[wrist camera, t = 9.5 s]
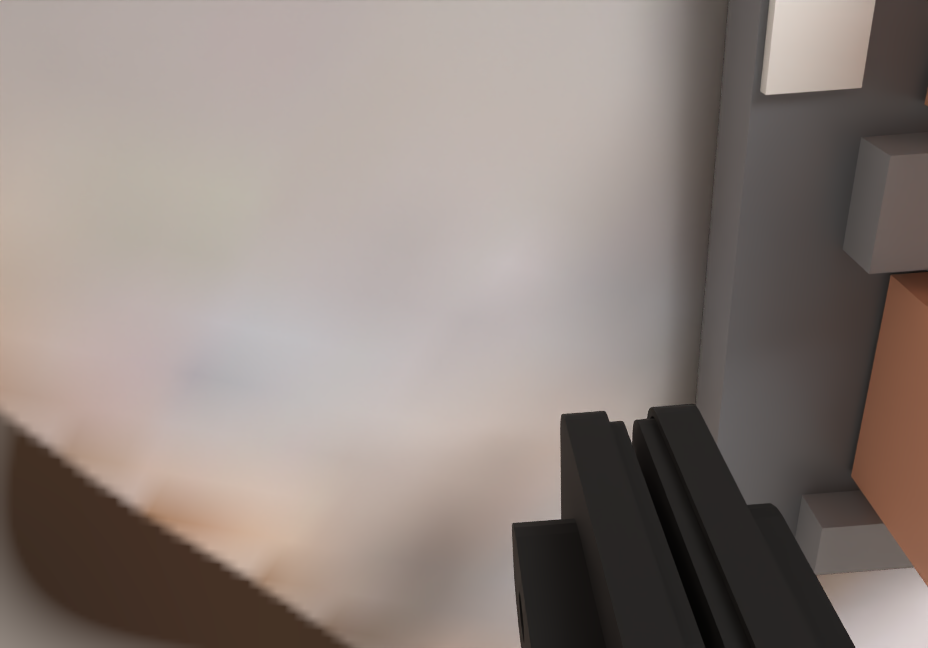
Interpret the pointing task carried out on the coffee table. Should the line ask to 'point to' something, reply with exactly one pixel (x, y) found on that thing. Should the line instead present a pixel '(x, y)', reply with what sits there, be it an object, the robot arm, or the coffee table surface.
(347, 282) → the coffee table surface
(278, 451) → the coffee table surface
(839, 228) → the switch bank
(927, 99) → the tab
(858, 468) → the orange cube
